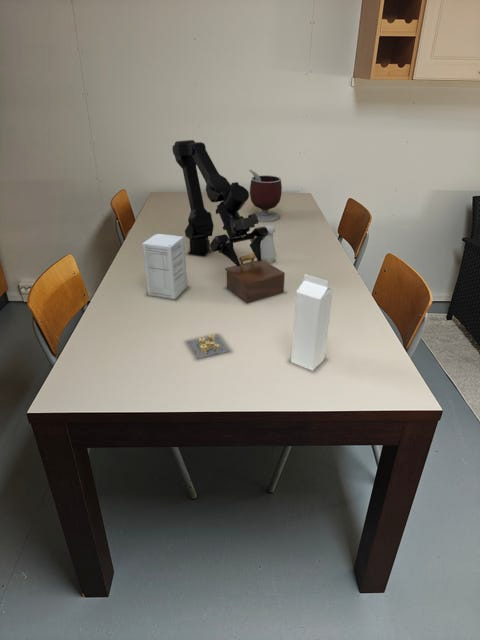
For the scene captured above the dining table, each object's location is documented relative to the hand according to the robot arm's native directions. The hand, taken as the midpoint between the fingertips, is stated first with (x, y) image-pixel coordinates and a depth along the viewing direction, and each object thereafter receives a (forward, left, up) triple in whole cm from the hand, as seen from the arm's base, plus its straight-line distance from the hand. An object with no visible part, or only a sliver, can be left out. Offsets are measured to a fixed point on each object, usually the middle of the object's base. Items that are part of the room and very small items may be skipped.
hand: (249, 263), depth 141 cm
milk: (+25, -34, -8) cm, 43 cm away
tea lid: (+2, -2, -2) cm, 3 cm away
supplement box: (-23, -11, -8) cm, 27 cm away
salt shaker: (0, +22, -8) cm, 23 cm away
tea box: (+2, -2, -8) cm, 9 cm away
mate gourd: (-15, +71, -8) cm, 73 cm away
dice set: (0, -36, -8) cm, 37 cm away
